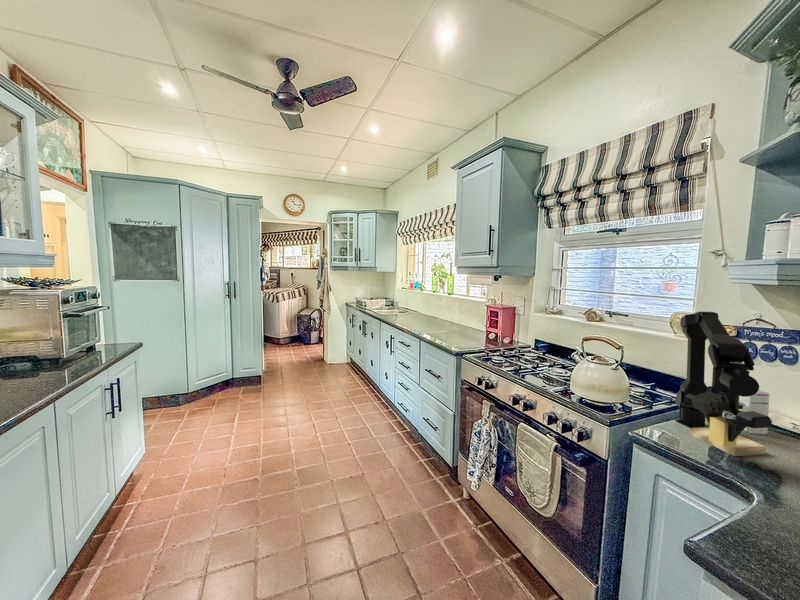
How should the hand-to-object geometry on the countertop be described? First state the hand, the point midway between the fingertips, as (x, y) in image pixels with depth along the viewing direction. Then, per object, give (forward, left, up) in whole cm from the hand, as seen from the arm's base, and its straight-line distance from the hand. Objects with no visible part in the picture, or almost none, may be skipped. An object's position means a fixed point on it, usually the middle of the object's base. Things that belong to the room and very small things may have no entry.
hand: (722, 437), depth 94 cm
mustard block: (0, 0, -2) cm, 2 cm away
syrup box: (-15, +29, -6) cm, 33 cm away
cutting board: (-7, +10, -6) cm, 14 cm away
